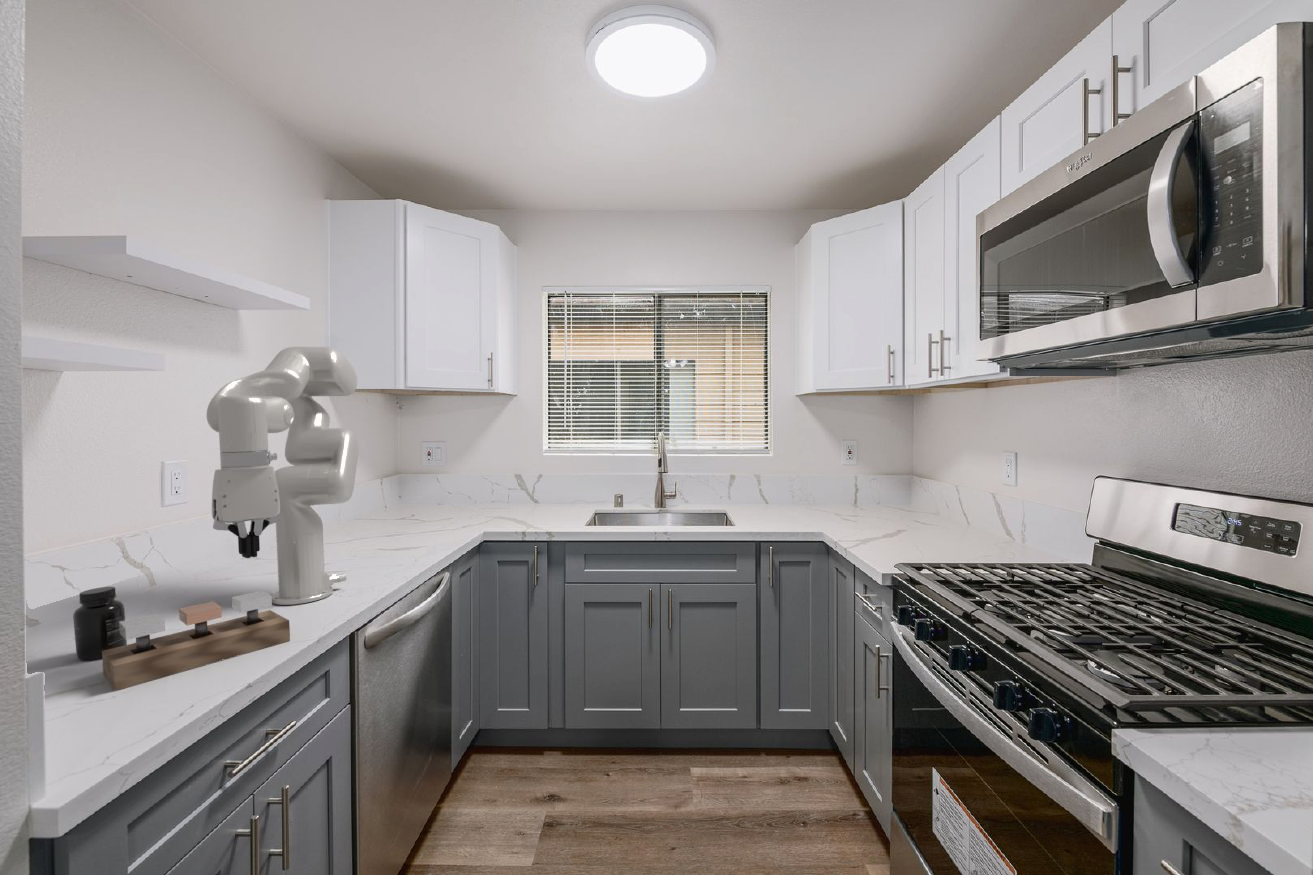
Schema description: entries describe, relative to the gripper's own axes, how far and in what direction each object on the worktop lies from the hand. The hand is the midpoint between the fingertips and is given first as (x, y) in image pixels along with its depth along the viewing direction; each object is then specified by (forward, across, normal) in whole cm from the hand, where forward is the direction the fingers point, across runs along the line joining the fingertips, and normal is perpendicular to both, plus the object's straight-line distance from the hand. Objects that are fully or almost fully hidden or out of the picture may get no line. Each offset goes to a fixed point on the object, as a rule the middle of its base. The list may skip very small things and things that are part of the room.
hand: (249, 556), depth 110 cm
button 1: (+14, +16, 0) cm, 21 cm away
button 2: (+14, 0, 0) cm, 14 cm away
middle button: (+14, +8, 0) cm, 16 cm away
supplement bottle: (+17, +19, -17) cm, 31 cm away
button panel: (+17, +8, 0) cm, 19 cm away
